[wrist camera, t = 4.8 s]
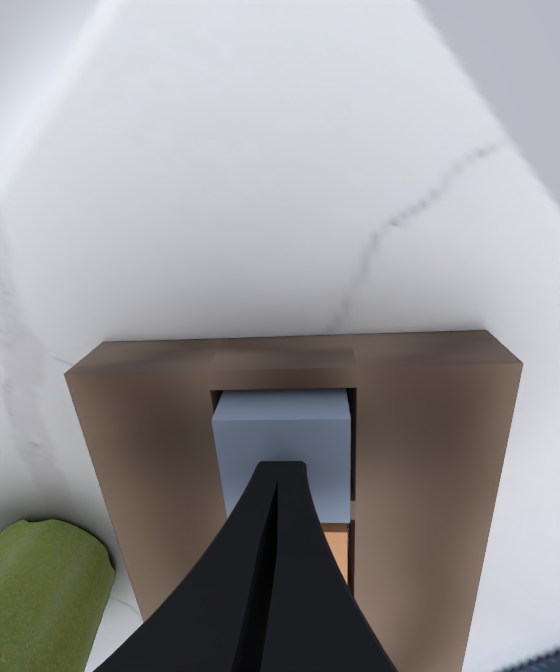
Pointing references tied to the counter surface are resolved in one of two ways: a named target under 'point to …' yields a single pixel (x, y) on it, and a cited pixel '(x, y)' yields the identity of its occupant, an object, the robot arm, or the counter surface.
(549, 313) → the counter surface
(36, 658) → the plant pot
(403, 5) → the counter surface
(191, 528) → the button panel
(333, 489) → the button slate
